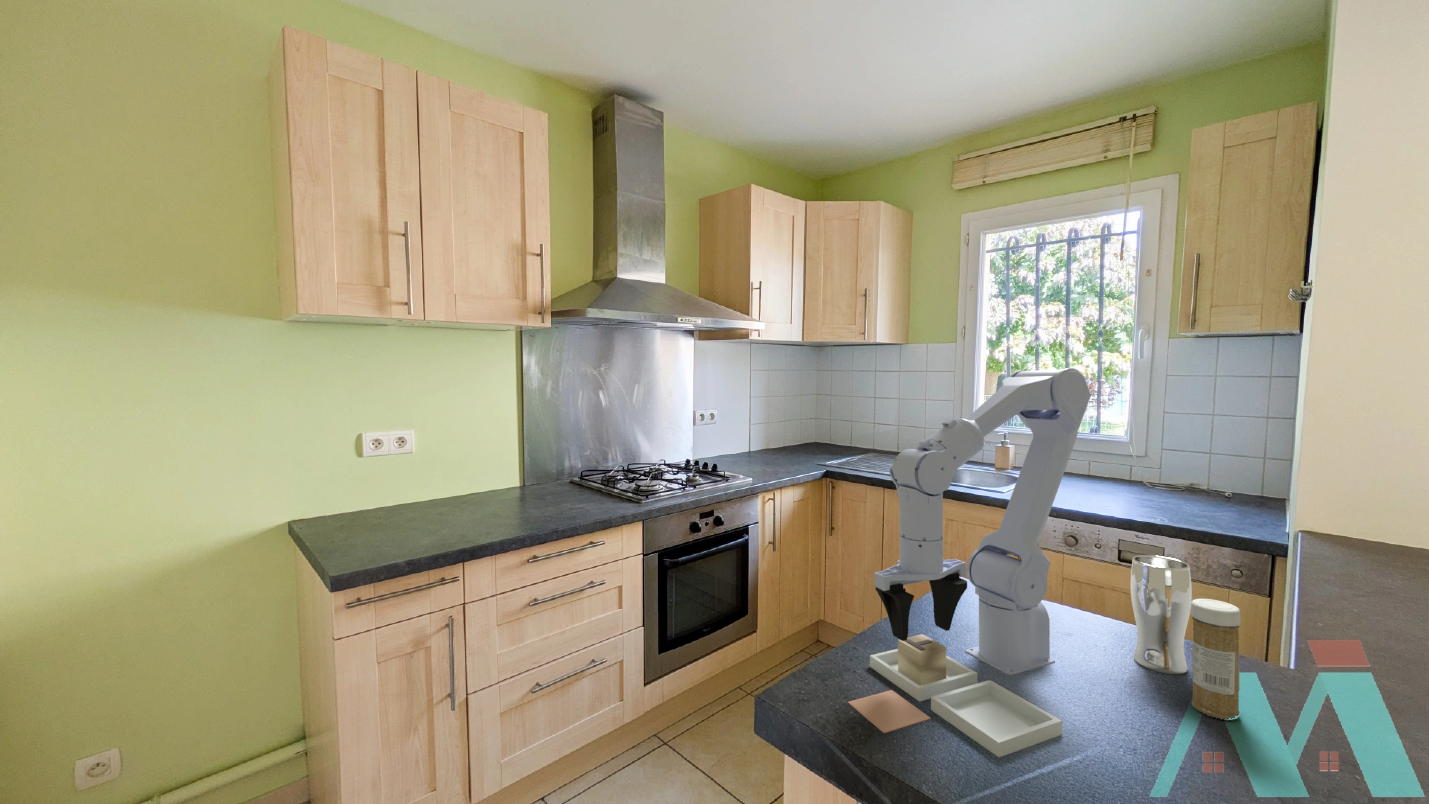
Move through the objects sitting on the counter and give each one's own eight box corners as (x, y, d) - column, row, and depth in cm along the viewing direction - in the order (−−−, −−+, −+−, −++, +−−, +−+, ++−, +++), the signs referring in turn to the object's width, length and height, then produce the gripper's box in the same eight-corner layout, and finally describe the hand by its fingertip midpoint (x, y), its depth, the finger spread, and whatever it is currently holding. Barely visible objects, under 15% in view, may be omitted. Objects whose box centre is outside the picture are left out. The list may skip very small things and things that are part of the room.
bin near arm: (923, 655, 86) (923, 642, 85) (977, 687, 76) (977, 672, 76) (869, 669, 82) (869, 655, 82) (919, 704, 72) (919, 689, 72)
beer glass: (1138, 671, 80) (1138, 566, 80) (1124, 649, 86) (1124, 552, 86) (1200, 680, 77) (1200, 571, 77) (1180, 657, 84) (1180, 557, 83)
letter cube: (922, 664, 82) (922, 633, 82) (946, 679, 78) (946, 646, 78) (898, 671, 80) (897, 639, 80) (920, 686, 76) (920, 652, 76)
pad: (891, 693, 75) (891, 689, 75) (930, 722, 69) (930, 717, 69) (848, 705, 72) (847, 701, 72) (884, 736, 66) (884, 732, 66)
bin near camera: (989, 694, 74) (989, 679, 74) (1062, 737, 65) (1062, 720, 65) (931, 712, 71) (930, 696, 71) (998, 760, 61) (998, 742, 61)
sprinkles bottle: (1245, 714, 69) (1245, 605, 69) (1232, 726, 67) (1233, 614, 66) (1197, 697, 73) (1198, 594, 73) (1184, 708, 71) (1185, 602, 70)
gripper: (939, 524, 85) (939, 613, 85) (860, 535, 79) (860, 630, 80) (977, 535, 78) (978, 631, 79) (894, 547, 73) (894, 651, 73)
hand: (921, 632), depth 79 cm, fingers open, 7 cm apart
